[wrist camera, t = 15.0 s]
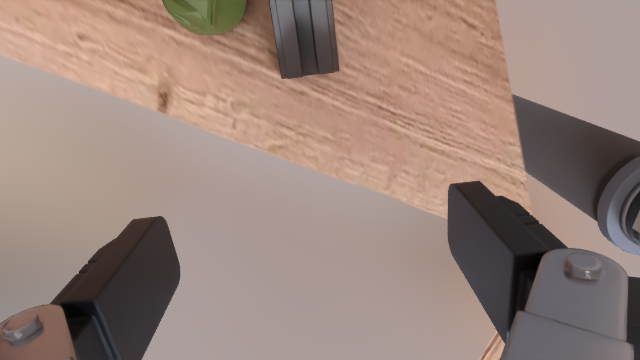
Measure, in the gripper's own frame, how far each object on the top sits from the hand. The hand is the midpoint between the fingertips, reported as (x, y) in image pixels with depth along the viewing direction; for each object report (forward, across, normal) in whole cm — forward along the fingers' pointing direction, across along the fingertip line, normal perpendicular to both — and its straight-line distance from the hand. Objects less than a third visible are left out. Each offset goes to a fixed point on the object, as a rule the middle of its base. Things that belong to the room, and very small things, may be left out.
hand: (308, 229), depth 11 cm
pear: (+26, +7, -8) cm, 28 cm away
